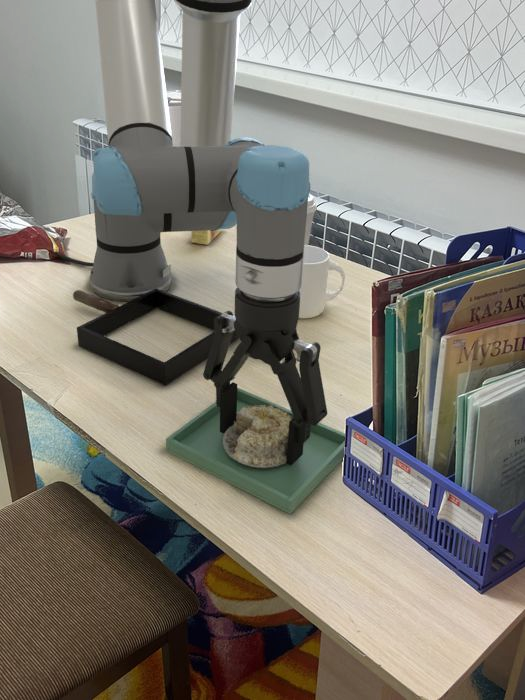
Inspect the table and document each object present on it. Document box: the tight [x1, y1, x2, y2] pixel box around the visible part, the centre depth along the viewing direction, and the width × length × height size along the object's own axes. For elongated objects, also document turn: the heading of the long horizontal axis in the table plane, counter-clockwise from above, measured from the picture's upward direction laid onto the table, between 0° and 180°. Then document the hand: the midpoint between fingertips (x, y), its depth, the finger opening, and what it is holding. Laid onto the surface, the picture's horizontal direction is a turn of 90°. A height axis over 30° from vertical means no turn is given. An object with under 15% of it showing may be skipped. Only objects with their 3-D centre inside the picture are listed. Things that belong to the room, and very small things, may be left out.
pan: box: [72, 288, 239, 386], centre depth 115 cm, size 29×19×4 cm, turn 56°
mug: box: [299, 244, 346, 319], centre depth 124 cm, size 9×12×11 cm
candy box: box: [190, 229, 222, 246], centre depth 150 cm, size 9×4×15 cm, turn 164°
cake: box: [222, 405, 292, 468], centre depth 89 cm, size 10×10×5 cm
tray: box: [165, 387, 346, 515], centre depth 90 cm, size 19×15×2 cm
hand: (260, 442), depth 90 cm, fingers closed on cake, 10 cm apart
